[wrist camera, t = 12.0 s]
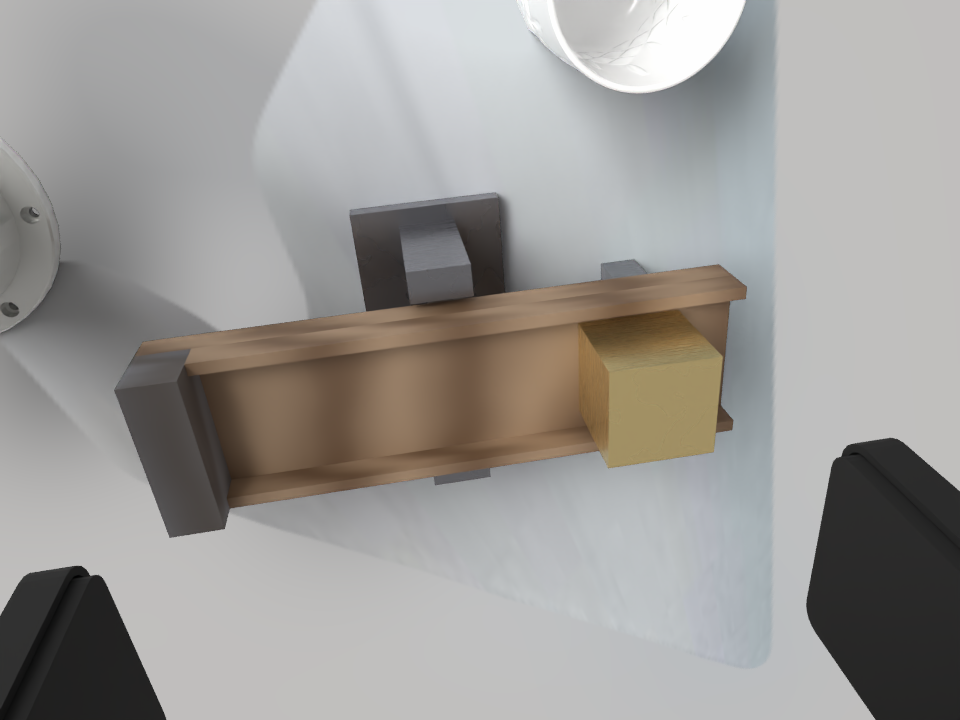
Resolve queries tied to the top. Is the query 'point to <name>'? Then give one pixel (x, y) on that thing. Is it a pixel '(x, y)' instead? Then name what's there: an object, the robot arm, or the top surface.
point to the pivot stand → (430, 258)
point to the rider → (648, 387)
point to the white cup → (633, 37)
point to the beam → (383, 392)
